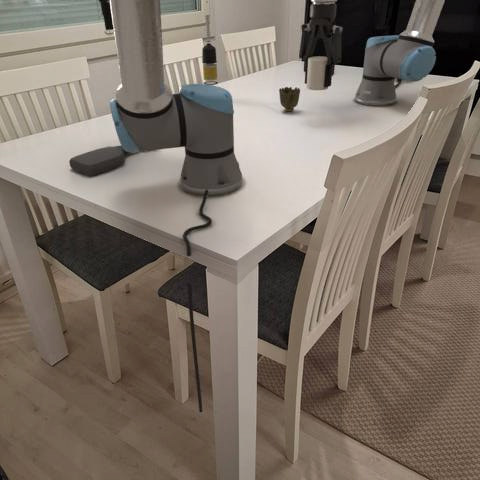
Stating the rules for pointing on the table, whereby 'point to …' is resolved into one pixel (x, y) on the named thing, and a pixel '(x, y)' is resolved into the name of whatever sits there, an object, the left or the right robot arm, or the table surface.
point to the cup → (289, 98)
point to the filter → (209, 58)
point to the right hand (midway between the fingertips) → (317, 84)
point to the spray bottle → (99, 160)
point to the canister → (316, 73)
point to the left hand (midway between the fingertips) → (127, 31)
